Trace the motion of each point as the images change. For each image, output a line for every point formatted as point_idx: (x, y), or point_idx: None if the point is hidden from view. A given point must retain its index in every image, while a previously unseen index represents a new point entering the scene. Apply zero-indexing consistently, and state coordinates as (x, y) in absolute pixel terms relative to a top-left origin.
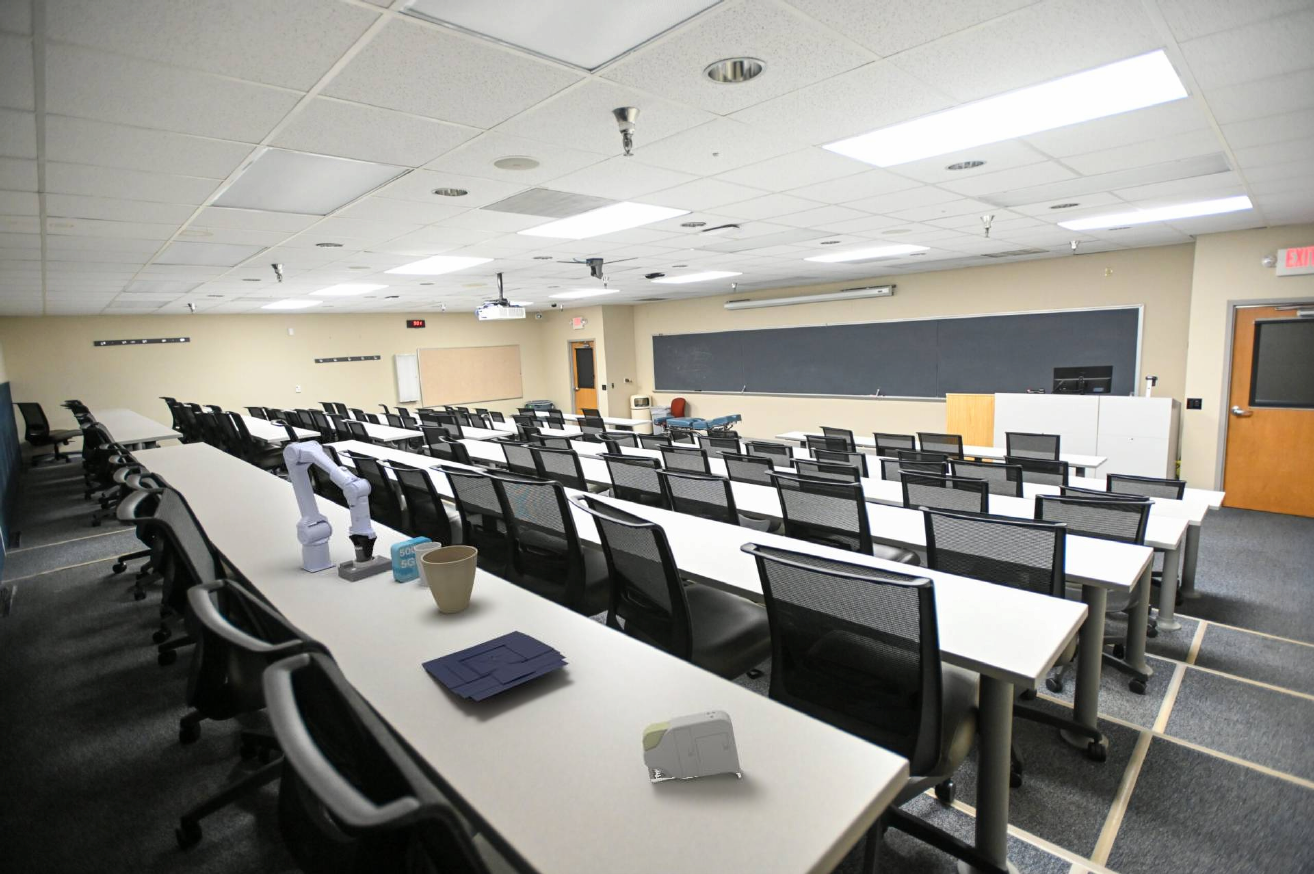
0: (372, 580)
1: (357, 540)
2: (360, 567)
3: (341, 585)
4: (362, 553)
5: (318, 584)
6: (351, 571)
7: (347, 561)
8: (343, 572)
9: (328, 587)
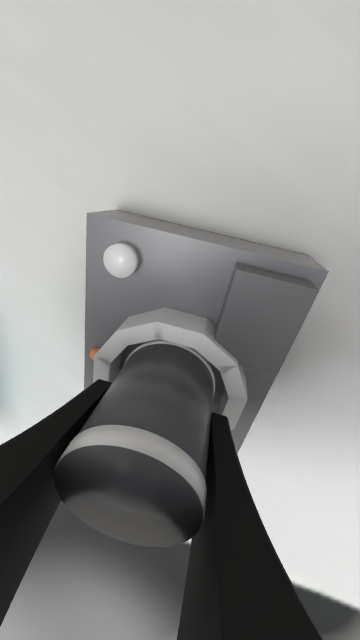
0: (47, 269)
1: (203, 591)
2: (135, 314)
3: (127, 131)
4: (100, 402)
5: (336, 44)
6: (124, 240)
7: (286, 345)
8: (229, 243)
9: (181, 43)
